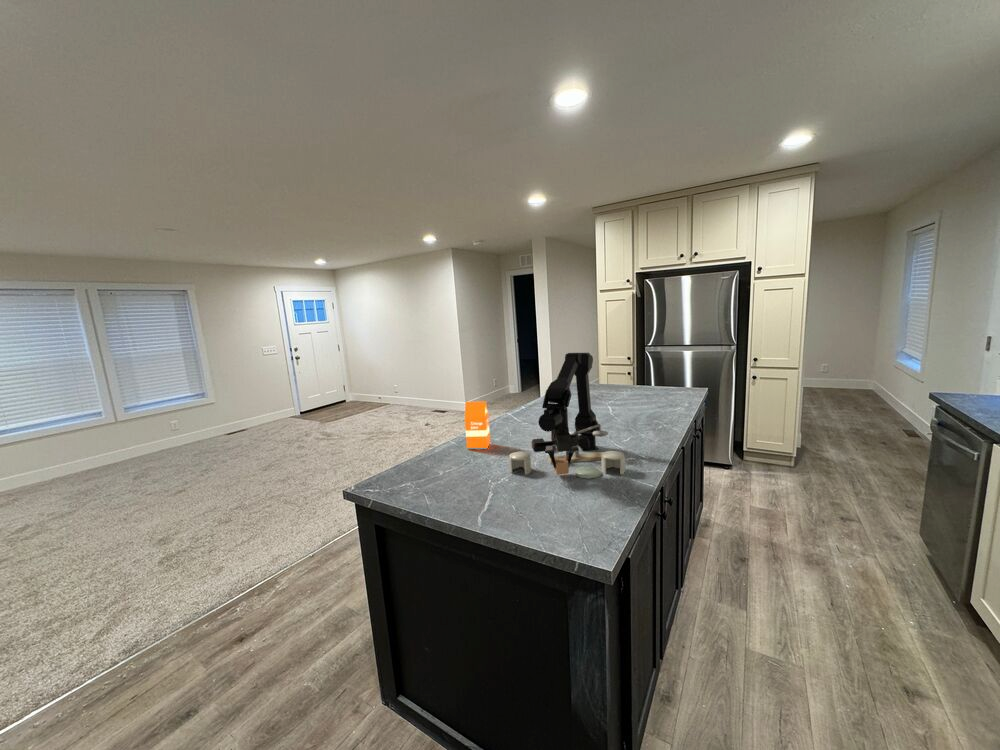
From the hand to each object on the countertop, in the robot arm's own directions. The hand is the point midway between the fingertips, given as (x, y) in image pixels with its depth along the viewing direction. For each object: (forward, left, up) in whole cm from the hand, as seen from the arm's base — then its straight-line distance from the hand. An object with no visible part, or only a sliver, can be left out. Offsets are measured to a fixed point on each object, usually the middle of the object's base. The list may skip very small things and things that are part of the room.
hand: (561, 467), depth 135 cm
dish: (0, +9, -3) cm, 10 cm away
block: (0, 0, -2) cm, 2 cm away
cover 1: (-7, -13, -3) cm, 15 cm away
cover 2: (0, +18, -3) cm, 18 cm away
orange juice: (-37, -27, -3) cm, 46 cm away
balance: (-13, +9, -3) cm, 17 cm away
